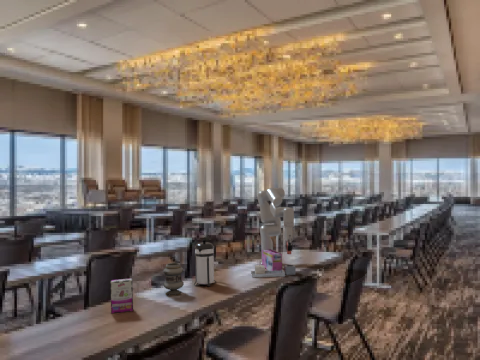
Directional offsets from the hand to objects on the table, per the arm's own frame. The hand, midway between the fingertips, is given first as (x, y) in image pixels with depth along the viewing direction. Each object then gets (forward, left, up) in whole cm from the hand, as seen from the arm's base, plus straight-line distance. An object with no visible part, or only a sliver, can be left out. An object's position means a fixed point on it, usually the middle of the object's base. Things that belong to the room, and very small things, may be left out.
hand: (289, 250), depth 286 cm
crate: (+3, -22, -17) cm, 28 cm away
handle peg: (0, 0, -3) cm, 3 cm away
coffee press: (+22, -60, -17) cm, 66 cm away
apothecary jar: (+43, -78, -17) cm, 91 cm away
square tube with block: (-2, 0, -17) cm, 17 cm away
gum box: (-18, -11, -18) cm, 27 cm away
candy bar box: (+74, -101, -18) cm, 126 cm away
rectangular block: (+3, -16, -17) cm, 24 cm away
